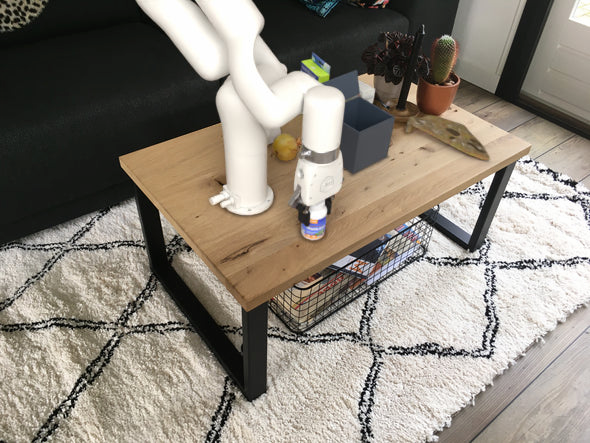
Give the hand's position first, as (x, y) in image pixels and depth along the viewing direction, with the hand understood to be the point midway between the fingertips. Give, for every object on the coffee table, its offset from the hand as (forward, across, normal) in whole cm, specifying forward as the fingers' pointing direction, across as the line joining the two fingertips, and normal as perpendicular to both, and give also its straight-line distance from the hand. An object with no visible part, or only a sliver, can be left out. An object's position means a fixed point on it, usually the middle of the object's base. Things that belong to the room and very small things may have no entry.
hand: (314, 216), depth 111 cm
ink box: (+5, +41, +28) cm, 50 cm away
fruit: (+5, +13, +26) cm, 30 cm away
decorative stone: (+7, +57, +5) cm, 58 cm away
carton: (+5, +29, +16) cm, 34 cm away
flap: (-11, +29, +24) cm, 39 cm away
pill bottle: (+5, 0, 0) cm, 5 cm away
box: (+5, +33, +38) cm, 51 cm away
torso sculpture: (+5, +12, +37) cm, 39 cm away
